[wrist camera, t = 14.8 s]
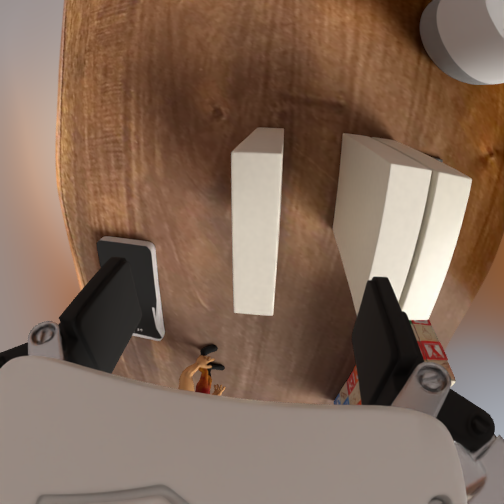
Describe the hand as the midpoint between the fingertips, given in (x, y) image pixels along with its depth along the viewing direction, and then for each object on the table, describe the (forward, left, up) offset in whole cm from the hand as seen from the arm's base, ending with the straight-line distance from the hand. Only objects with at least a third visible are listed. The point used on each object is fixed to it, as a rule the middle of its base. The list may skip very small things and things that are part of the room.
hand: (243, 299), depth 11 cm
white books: (0, +12, -19) cm, 23 cm away
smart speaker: (-17, +18, -20) cm, 31 cm away
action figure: (+26, -7, -20) cm, 34 cm away
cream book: (0, 0, -20) cm, 20 cm away
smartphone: (+15, -17, -20) cm, 30 cm away
